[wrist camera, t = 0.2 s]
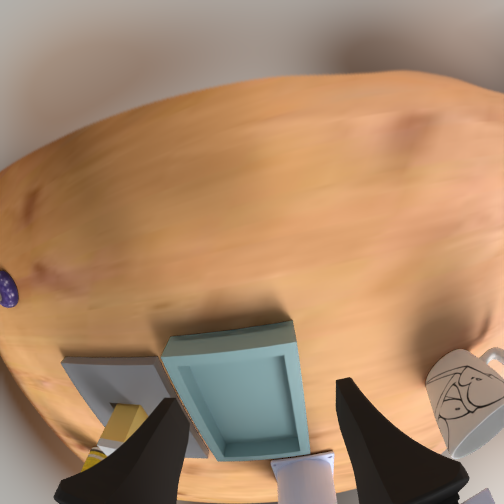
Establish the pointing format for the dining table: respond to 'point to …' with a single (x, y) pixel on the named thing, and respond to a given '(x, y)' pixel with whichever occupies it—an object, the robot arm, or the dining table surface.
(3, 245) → the dining table surface
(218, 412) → the parts tray
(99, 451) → the supplement bottle
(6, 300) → the toy lamp
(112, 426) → the block
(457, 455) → the mug
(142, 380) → the socket block
